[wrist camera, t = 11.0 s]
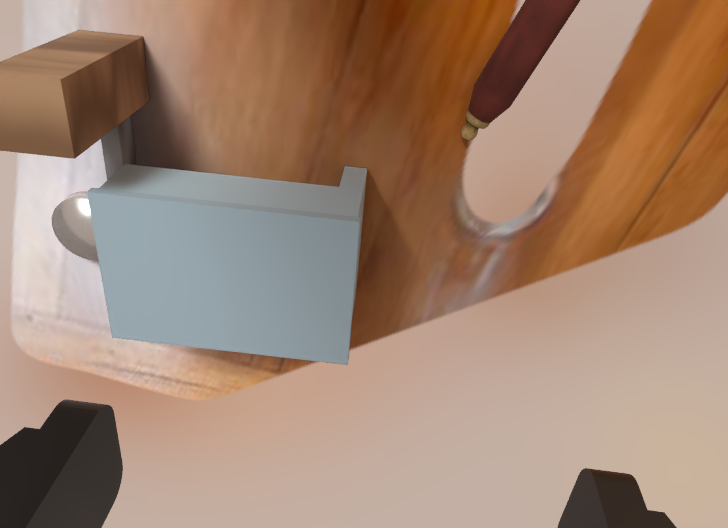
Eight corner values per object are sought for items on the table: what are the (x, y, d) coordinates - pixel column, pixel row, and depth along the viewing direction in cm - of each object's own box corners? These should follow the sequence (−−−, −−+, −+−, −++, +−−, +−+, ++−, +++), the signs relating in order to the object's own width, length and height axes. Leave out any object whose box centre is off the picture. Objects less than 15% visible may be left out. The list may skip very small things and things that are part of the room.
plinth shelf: (142, 141, 41) (86, 192, 34) (370, 165, 41) (360, 222, 34) (158, 271, 47) (112, 337, 40) (358, 294, 46) (347, 364, 39)
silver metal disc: (55, 186, 44) (45, 195, 43) (124, 193, 44) (115, 202, 42) (68, 246, 46) (59, 256, 45) (133, 253, 46) (125, 263, 45)
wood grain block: (78, 29, 38) (-22, 70, 29) (142, 36, 37) (60, 79, 29) (113, 252, 46) (43, 334, 37) (166, 258, 46) (107, 342, 37)
